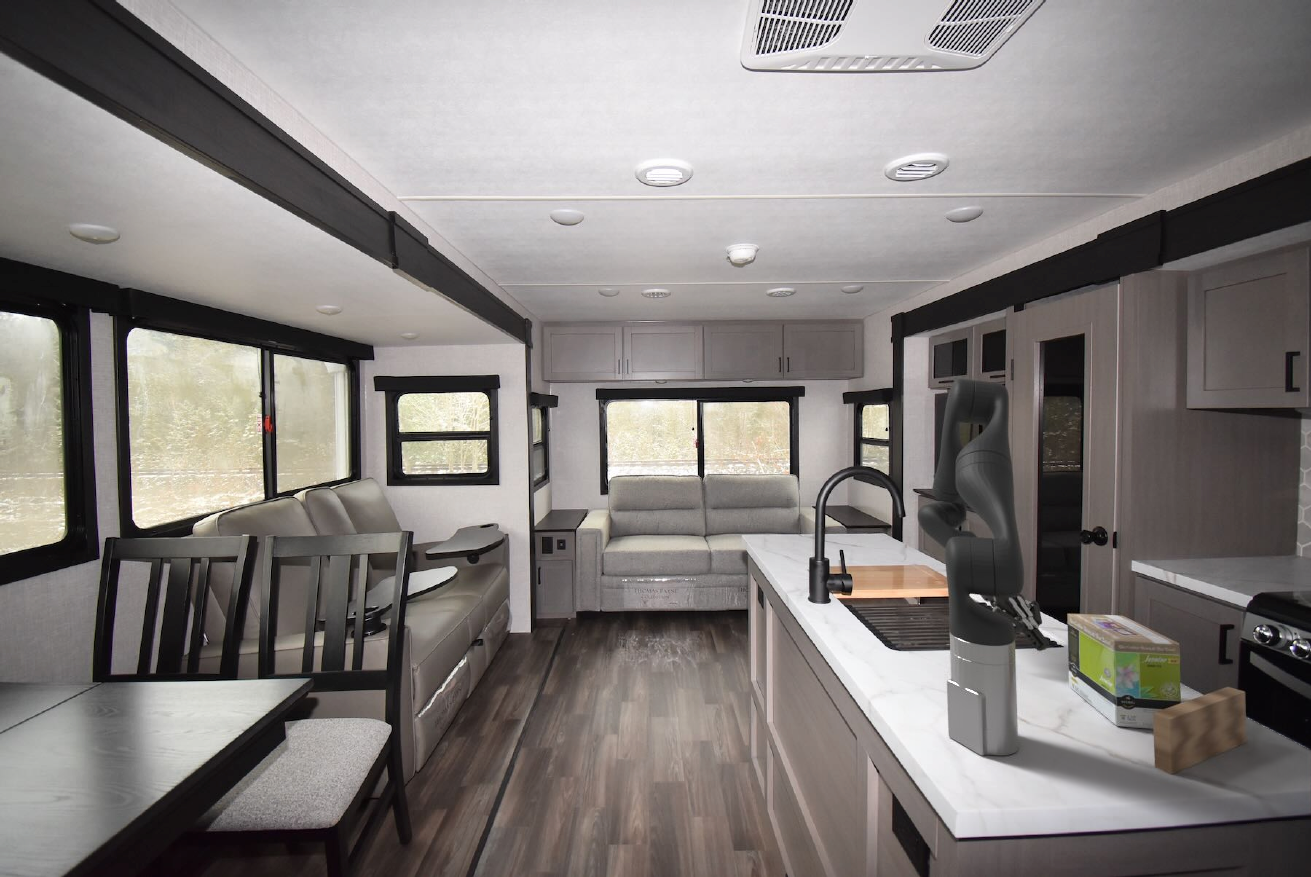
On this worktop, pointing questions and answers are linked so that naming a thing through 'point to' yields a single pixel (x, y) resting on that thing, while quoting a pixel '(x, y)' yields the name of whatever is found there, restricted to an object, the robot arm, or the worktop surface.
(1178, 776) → the worktop surface
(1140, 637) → the tea box
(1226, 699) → the wooden block
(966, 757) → the worktop surface
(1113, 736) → the worktop surface
